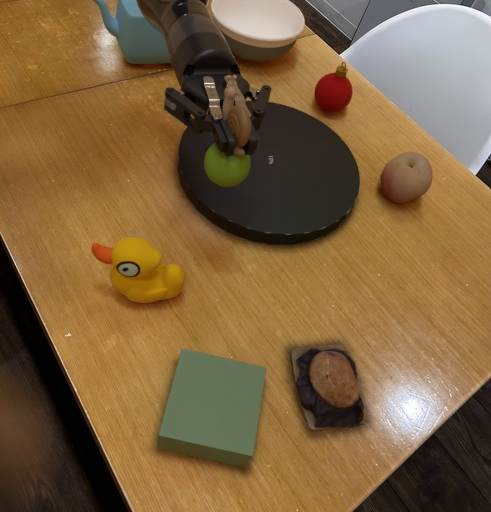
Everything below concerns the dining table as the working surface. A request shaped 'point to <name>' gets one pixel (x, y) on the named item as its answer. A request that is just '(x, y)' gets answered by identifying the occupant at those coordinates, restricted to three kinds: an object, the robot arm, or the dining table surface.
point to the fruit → (406, 177)
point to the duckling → (140, 270)
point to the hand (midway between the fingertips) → (241, 149)
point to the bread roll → (327, 387)
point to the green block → (213, 408)
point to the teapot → (134, 33)
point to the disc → (277, 180)
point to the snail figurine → (238, 165)
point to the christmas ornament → (334, 90)
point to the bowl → (258, 27)
